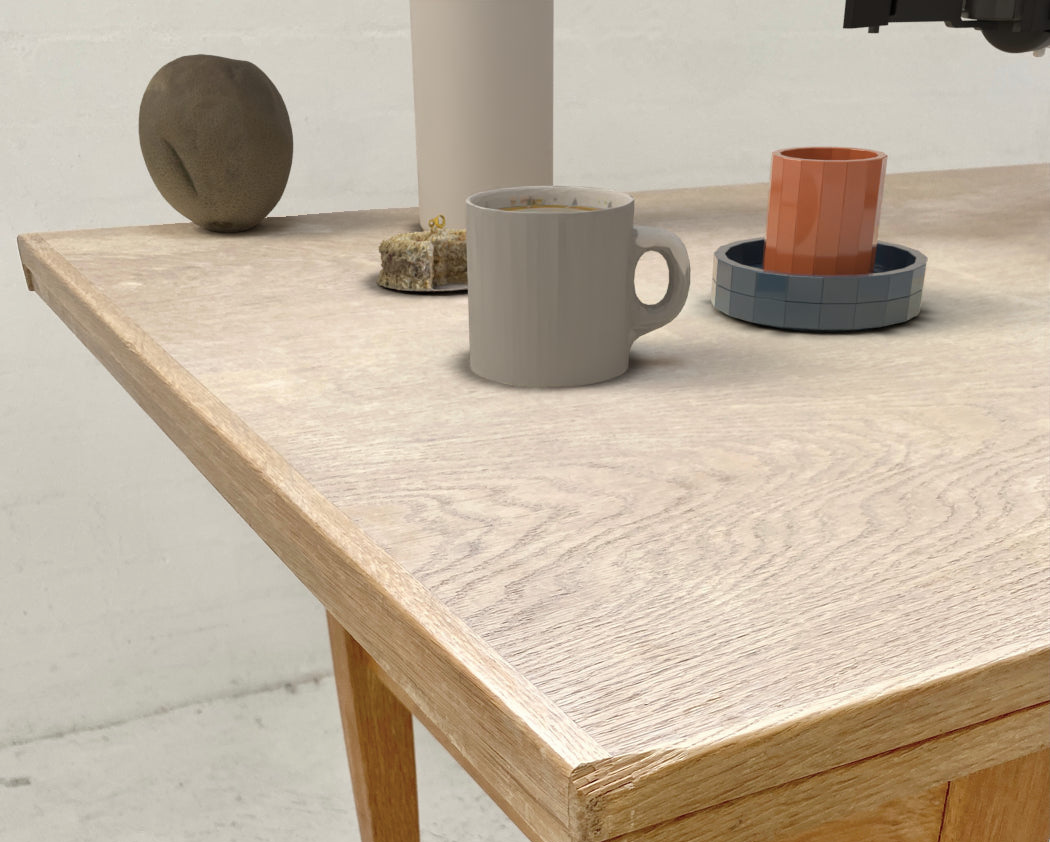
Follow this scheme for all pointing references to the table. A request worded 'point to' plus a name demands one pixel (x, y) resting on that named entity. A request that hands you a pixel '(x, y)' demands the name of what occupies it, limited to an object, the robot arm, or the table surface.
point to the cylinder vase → (480, 100)
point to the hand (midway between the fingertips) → (935, 9)
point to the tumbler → (824, 210)
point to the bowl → (818, 290)
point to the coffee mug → (561, 284)
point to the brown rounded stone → (216, 140)
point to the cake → (424, 259)
